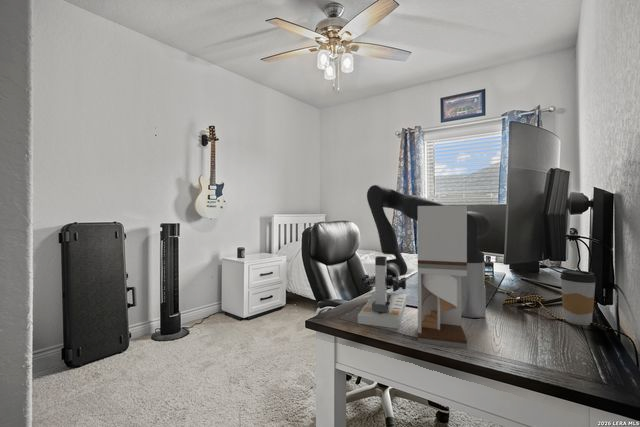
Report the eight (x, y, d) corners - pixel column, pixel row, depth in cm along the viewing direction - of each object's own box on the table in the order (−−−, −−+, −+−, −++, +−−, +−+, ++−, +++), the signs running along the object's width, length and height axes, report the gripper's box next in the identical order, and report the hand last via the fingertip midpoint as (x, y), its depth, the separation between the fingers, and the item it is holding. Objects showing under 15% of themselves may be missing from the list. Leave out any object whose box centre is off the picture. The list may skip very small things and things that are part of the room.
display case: (417, 342, 77) (417, 206, 77) (417, 327, 88) (417, 206, 87) (466, 348, 74) (466, 205, 74) (460, 331, 84) (460, 206, 84)
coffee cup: (596, 321, 91) (596, 271, 91) (596, 329, 85) (596, 276, 85) (561, 315, 97) (561, 268, 97) (558, 322, 91) (558, 272, 91)
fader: (390, 308, 95) (390, 256, 95) (388, 312, 91) (388, 258, 91) (374, 306, 97) (374, 255, 97) (371, 310, 93) (371, 257, 93)
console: (407, 301, 113) (407, 294, 113) (398, 328, 87) (398, 319, 87) (374, 298, 117) (374, 291, 117) (357, 323, 91) (357, 314, 91)
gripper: (367, 264, 110) (357, 273, 95) (408, 266, 105) (404, 276, 90) (367, 285, 110) (357, 296, 95) (408, 288, 105) (404, 301, 90)
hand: (380, 286), depth 92 cm, fingers open, 8 cm apart
